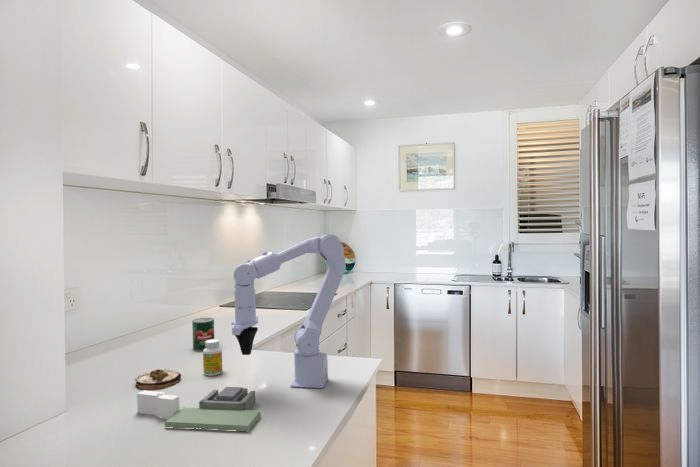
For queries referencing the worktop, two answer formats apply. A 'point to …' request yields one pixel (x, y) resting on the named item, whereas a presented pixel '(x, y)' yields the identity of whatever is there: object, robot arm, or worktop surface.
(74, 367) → the worktop surface
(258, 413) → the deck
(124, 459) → the worktop surface
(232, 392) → the dark grey block
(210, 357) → the supplement bottle
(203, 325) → the canned tomato
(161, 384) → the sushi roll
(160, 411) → the white stepped block
